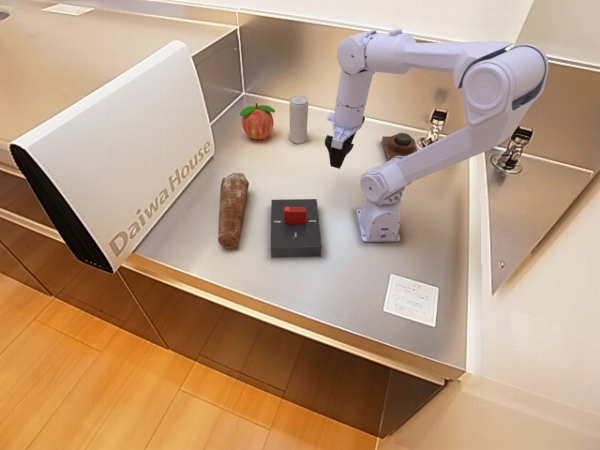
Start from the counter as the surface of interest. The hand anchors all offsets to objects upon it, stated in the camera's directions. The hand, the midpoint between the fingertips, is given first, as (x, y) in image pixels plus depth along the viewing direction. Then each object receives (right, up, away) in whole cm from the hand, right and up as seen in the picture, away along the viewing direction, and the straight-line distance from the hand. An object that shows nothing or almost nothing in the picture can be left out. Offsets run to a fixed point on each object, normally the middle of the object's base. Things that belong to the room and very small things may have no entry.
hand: (340, 155), depth 80 cm
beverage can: (-9, +9, +23) cm, 26 cm away
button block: (+18, +4, +19) cm, 27 cm away
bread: (-23, -14, +1) cm, 27 cm away
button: (+18, +7, +16) cm, 25 cm away
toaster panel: (-10, -16, -2) cm, 19 cm away
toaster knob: (-10, -14, -4) cm, 18 cm away
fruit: (-20, +10, +24) cm, 33 cm away
